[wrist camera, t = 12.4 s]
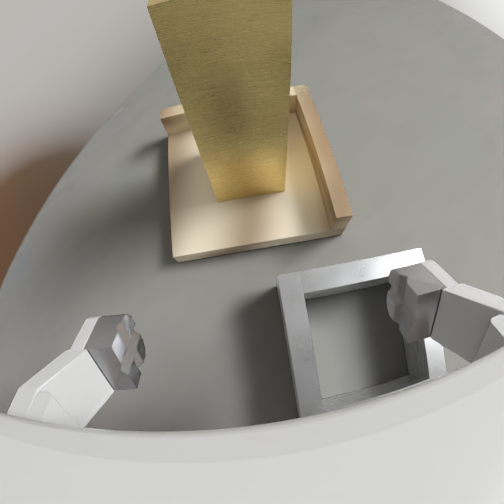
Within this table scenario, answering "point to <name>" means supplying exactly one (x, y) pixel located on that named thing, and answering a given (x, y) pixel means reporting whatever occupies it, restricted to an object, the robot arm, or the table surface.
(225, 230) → the rack plate
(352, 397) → the socket collar
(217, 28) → the yellow wooden block
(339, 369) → the table surface
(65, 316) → the table surface
